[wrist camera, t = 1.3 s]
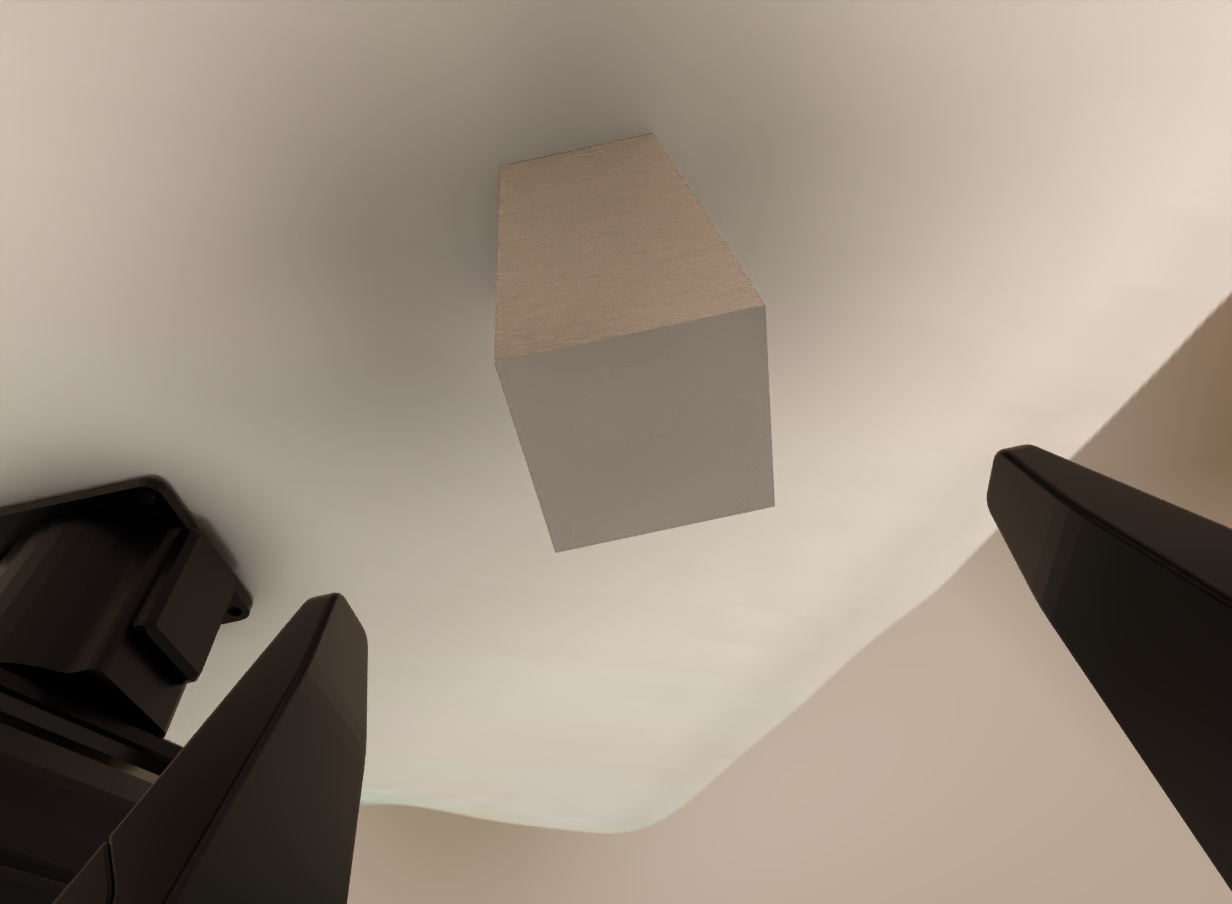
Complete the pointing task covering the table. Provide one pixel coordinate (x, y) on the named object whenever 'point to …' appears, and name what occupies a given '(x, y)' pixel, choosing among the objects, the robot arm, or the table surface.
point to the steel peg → (628, 347)
